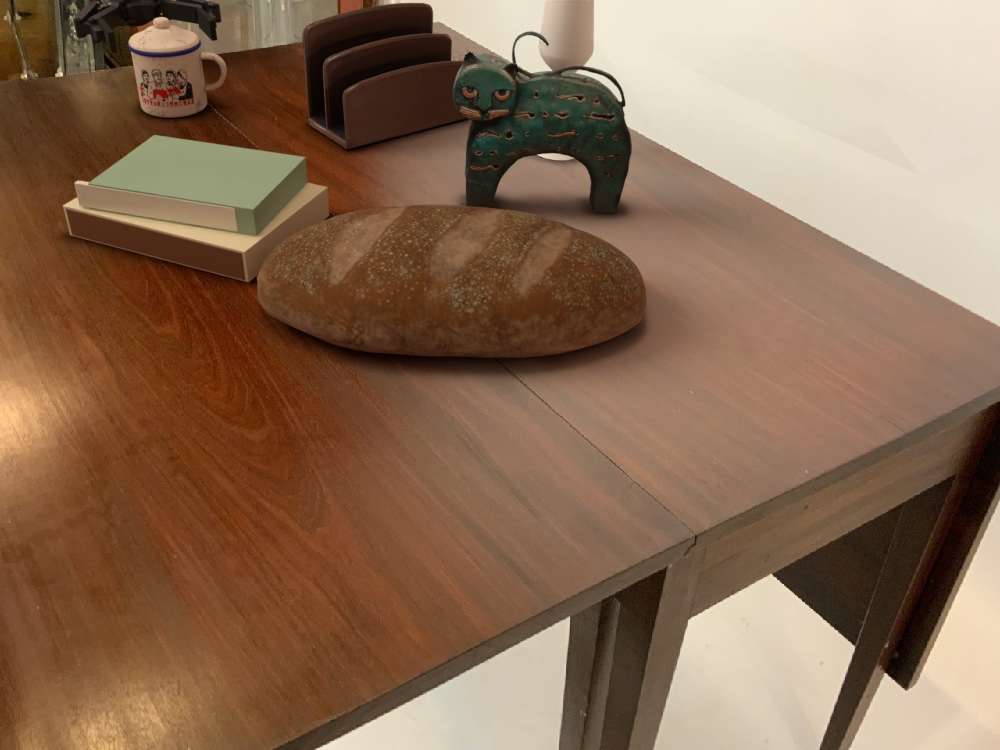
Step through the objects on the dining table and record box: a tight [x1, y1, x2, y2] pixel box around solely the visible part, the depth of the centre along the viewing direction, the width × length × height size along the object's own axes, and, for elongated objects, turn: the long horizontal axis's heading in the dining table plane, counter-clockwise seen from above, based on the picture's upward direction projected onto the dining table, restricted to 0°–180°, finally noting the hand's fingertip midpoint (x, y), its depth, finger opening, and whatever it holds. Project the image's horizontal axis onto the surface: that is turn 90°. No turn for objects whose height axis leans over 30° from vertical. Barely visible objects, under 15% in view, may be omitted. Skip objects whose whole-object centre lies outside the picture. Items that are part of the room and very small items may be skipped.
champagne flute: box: [537, 0, 595, 161], centre depth 119 cm, size 7×7×24 cm
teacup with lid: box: [127, 17, 228, 119], centre depth 128 cm, size 12×9×12 cm
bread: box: [256, 203, 648, 358], centre depth 92 cm, size 22×37×8 cm, turn 90°
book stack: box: [62, 134, 330, 283], centre depth 104 cm, size 22×16×6 cm
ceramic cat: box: [453, 30, 633, 214], centre depth 107 cm, size 20×6×20 cm, turn 91°
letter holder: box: [301, 2, 468, 151], centre depth 126 cm, size 10×20×14 cm, turn 129°
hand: (164, 36), depth 133 cm, fingers open, 13 cm apart
